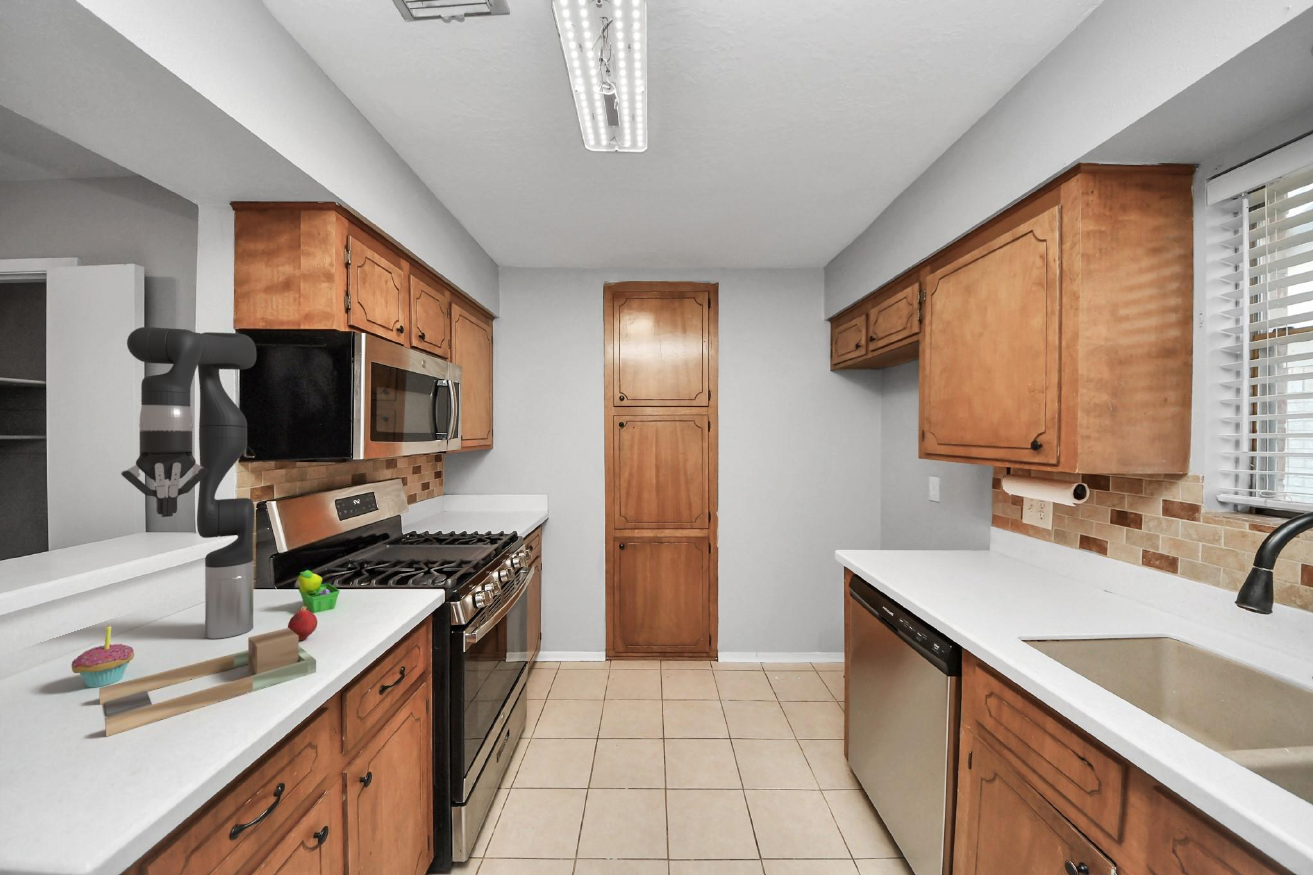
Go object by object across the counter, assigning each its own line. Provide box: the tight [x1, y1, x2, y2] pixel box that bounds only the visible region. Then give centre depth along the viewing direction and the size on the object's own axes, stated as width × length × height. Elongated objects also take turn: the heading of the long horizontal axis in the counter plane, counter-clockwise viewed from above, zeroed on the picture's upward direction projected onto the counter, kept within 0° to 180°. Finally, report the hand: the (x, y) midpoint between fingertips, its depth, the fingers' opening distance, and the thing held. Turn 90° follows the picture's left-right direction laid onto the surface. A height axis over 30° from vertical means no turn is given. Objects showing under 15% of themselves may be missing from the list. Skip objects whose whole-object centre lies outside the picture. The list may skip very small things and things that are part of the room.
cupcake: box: [71, 622, 135, 688], centre depth 101 cm, size 9×8×12 cm
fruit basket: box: [297, 569, 341, 614], centre depth 144 cm, size 11×9×11 cm
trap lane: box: [99, 645, 317, 737], centre depth 99 cm, size 17×30×2 cm, turn 140°
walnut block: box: [247, 627, 300, 676], centre depth 106 cm, size 7×7×7 cm
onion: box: [287, 605, 318, 641], centre depth 121 cm, size 6×6×8 cm
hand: (166, 516), depth 100 cm, fingers closed
